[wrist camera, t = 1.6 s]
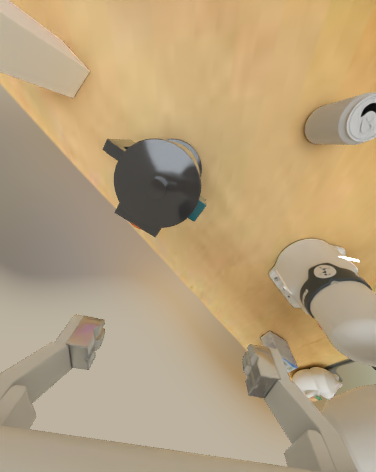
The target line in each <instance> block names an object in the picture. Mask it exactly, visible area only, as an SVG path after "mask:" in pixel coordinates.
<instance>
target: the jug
mask: <svg viewBox="0 0 376 472" xmlns="http://www.w3.org/2000/svg"><path fill="white" fill-rule="evenodd" d="M103 150H104V151H105V152H106V153H107V154H109V155H110V156H112V157H113V158H115V159H116V160H118V162H117V165H116V168H115V173H114V186H115V191H116V195H117V197H118V200H119V202H120V203H119V205H118V207H117V209H116V210H115V213H116V214H118V215H119V216H121V217H123V218H124V219H126V220H128V221H129V222H131V223H132V224H134V225H136V226H137V227H139V228H141V229H142V230H144V231H146V232H147V233H149V234H150V235H152V236H154V237H156V236H157V234H158V233H159V231H160V230H161V228H164V227H171V226H174V225H177V224H179V223H181V222H183V221H184V220H185V219H187V218H189V219H191V220H192V221H195V220H196V219H197V217H198V216H199V215H200V213H201V212H202V211H203V209H204V208H205V207H206V199H204V198H203V197H201V196H200V193H201V179H200V177H201V170H202V168H201V161H200V158H199V156H198V154H197V152H196V151H195V149H194V148H193V147H192V146H191V145H190V144H188V143H186V142H184V141H182V140H178V139H168V140H162V139H146V140H142V141H139V142H137V143H135V142H133V141H132V140H120V139H107V141H106V143H105V145H104V147H103Z"/></svg>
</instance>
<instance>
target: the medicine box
mask: <svg viewBox="0 0 376 472" xmlns="http://www.w3.org/2000/svg"><path fill="white" fill-rule="evenodd" d="M261 341H262V344H263V346H265V347H269V348H276V349H278V351H279V353H280V355H281V358H282V360H283V363H284V365H285V368H286V370H287V373H289V372H291V371H293V370H295V369H296V368H298V366H297V364H296V362H295V359H294V357H293V355H292V353H291V351H290V348H289V346H288V344H287V342H286V341H285V340H284V339H282V338H280V337H279V336H277V335H276V334H274V333H272V332H271V331H269V332H267V333H266V334H265V335H263V336H262V337H261Z"/></svg>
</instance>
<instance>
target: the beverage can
mask: <svg viewBox="0 0 376 472" xmlns="http://www.w3.org/2000/svg"><path fill="white" fill-rule="evenodd" d="M305 136H306V138H307V139H308V140H309V141H310V142H311V143H314V144H342V145H356V144H361V143H364V142H366V141H369V140H371V139H373V138H375V137H376V93H366V94H362V95H359V96H355V97H352V98H348V99H345V100H342V101H338V102H335V103H331V104H328V105H324V106H321V107H319V108H318V109H316V110H315V111H314V112H313V113H312V114H311V115H310V116H309V118H308V119H307V121H306V124H305Z"/></svg>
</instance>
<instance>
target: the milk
mask: <svg viewBox="0 0 376 472" xmlns="http://www.w3.org/2000/svg"><path fill="white" fill-rule="evenodd" d="M0 72H1V73H4V74H7V75H9V76H12V77H15V78H18V79H21V80H23V81H26V82H29V83H32V84H35V85H37V86H40V87H43V88H46V89H48V90H51V91H54V92H57V93H60V94H62V95H65V96H68V97H71V98H74V96H75V95H76V93H77V91H78V90H79V88H80V87H81V85H82V84H83V82H84V80H85V79H86V77H87V76H88V74H89V72H90V71H89V70H88V68H87V67H86V66H85V65H84V64H83V63H82V62H81V61H80V60H79V58H78V57H77V56H76V55H75V54H74V53H73V52H72V51H71V50H70V48H69V47H68V46H67V45H66V44H65V43H64V42H63V41H62V40H61V39H60V38H58V37H57V36H56V35H54V34H53V33H52V32H50V31H49V30H48V29H46V28H45V27H44V26H42V25H41V24H40V23H38V22H37V21H36V20H35V19H33V18H32V17H31V16H29V15H28V14H27V13H25V12H24V11H23V10H21V9H20V8H19V7H17V6H16V5H15V4H13V3H12V2H11V1H9V0H0Z"/></svg>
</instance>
